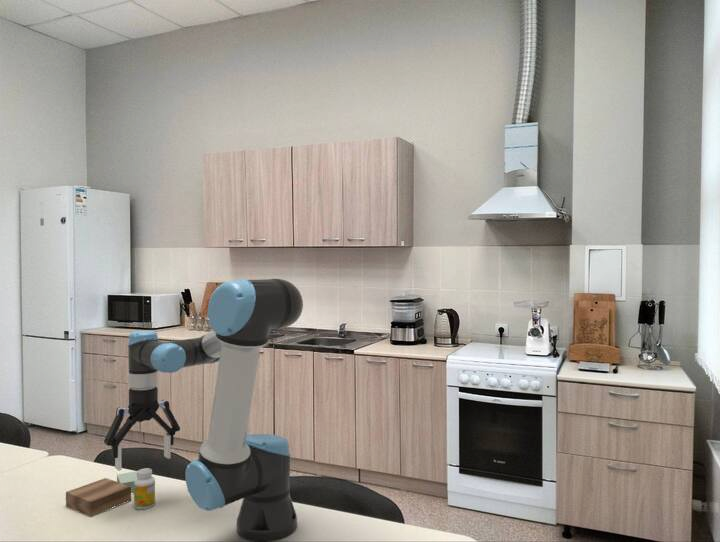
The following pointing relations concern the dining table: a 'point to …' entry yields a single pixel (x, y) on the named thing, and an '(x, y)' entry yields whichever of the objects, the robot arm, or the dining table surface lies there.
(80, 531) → the dining table surface
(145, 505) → the supplement bottle
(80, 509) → the walnut block
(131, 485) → the greygreen block
